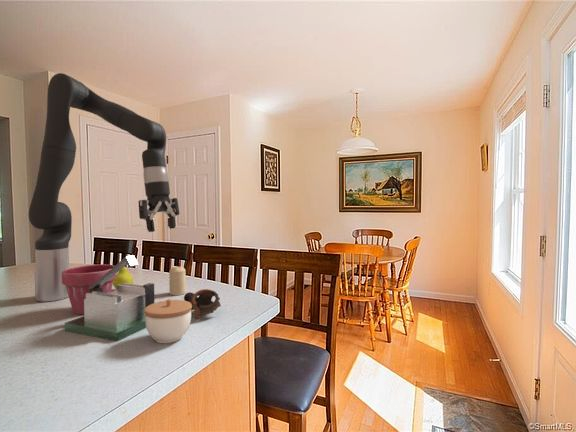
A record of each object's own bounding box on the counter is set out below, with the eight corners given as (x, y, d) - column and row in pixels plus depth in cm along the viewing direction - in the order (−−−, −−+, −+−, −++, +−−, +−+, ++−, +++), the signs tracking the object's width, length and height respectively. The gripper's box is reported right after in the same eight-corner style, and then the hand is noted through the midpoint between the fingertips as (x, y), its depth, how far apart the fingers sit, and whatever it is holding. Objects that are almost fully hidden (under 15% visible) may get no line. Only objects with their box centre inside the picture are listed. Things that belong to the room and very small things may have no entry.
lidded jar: (164, 352, 70) (163, 309, 69) (135, 340, 75) (134, 301, 75) (201, 335, 79) (201, 297, 78) (173, 326, 84) (172, 291, 84)
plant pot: (50, 314, 93) (49, 271, 93) (94, 300, 106) (93, 262, 106) (85, 320, 88) (84, 274, 88) (127, 305, 102) (126, 265, 101)
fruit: (127, 293, 116) (126, 260, 115) (108, 292, 116) (108, 260, 116) (136, 288, 123) (136, 257, 122) (119, 287, 123) (118, 257, 122)
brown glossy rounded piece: (225, 310, 99) (226, 291, 94) (210, 333, 91) (211, 314, 87) (191, 298, 101) (190, 279, 97) (173, 320, 93) (172, 300, 89)
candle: (188, 291, 118) (187, 264, 117) (181, 295, 112) (181, 267, 112) (173, 291, 118) (173, 264, 118) (166, 295, 113) (166, 267, 113)
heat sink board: (64, 330, 81) (63, 288, 81) (117, 311, 96) (117, 275, 96) (117, 341, 75) (116, 295, 74) (165, 318, 90) (165, 280, 89)
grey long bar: (93, 296, 87) (88, 287, 87) (101, 294, 89) (97, 285, 90) (130, 265, 82) (125, 256, 82) (138, 264, 84) (133, 254, 84)
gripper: (165, 182, 113) (171, 228, 114) (129, 182, 101) (136, 233, 101) (181, 180, 110) (186, 226, 110) (145, 180, 97) (152, 232, 98)
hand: (162, 230), depth 106 cm, fingers open, 8 cm apart
